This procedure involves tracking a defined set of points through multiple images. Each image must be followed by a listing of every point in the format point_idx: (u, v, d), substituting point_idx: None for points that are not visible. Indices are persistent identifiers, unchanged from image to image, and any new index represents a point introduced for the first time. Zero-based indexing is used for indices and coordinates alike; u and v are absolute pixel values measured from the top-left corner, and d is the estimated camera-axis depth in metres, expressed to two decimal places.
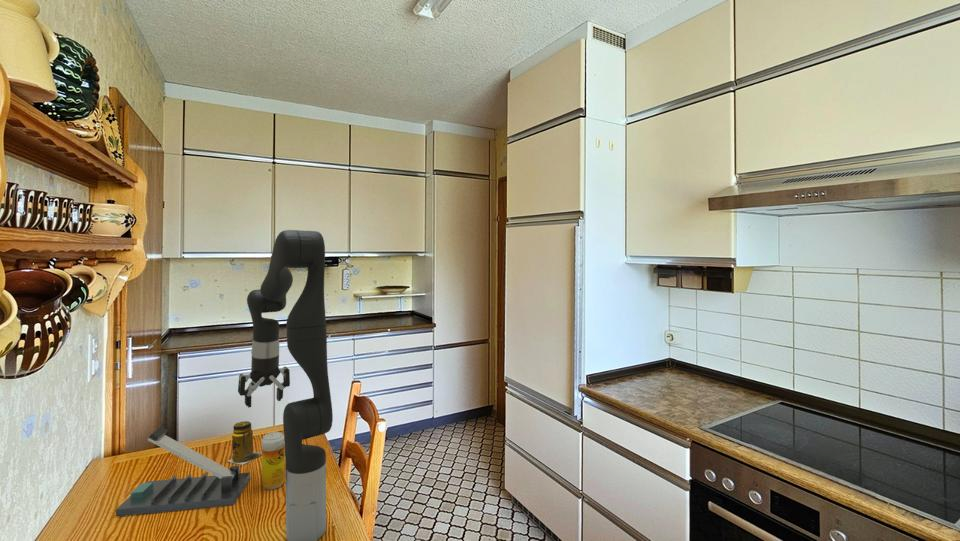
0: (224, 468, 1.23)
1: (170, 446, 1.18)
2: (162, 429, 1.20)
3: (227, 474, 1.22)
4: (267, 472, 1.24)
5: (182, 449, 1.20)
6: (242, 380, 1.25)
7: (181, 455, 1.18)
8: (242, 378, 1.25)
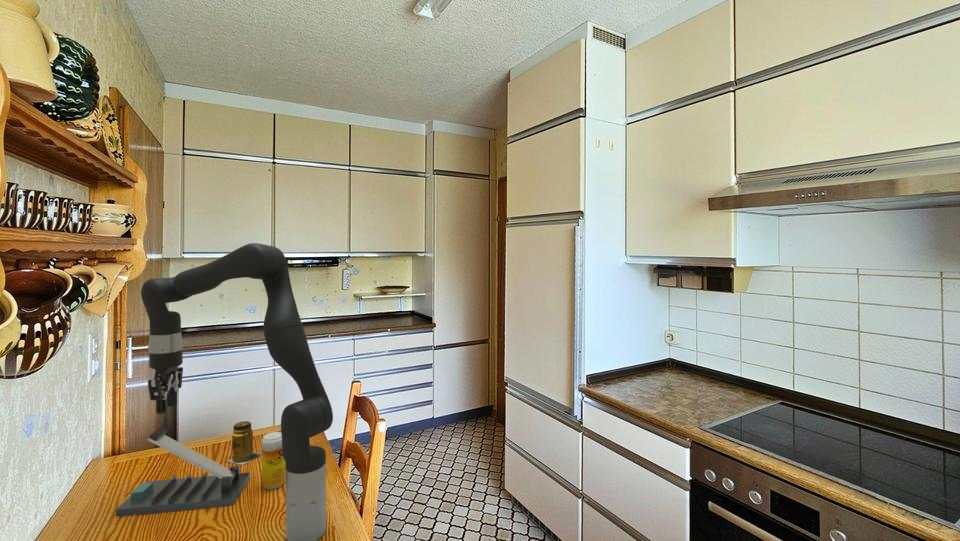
0: (224, 468, 1.23)
1: (170, 446, 1.18)
2: (162, 429, 1.20)
3: (227, 474, 1.22)
4: (267, 472, 1.24)
5: (182, 449, 1.20)
6: (159, 383, 1.12)
7: (181, 455, 1.18)
8: (158, 381, 1.12)
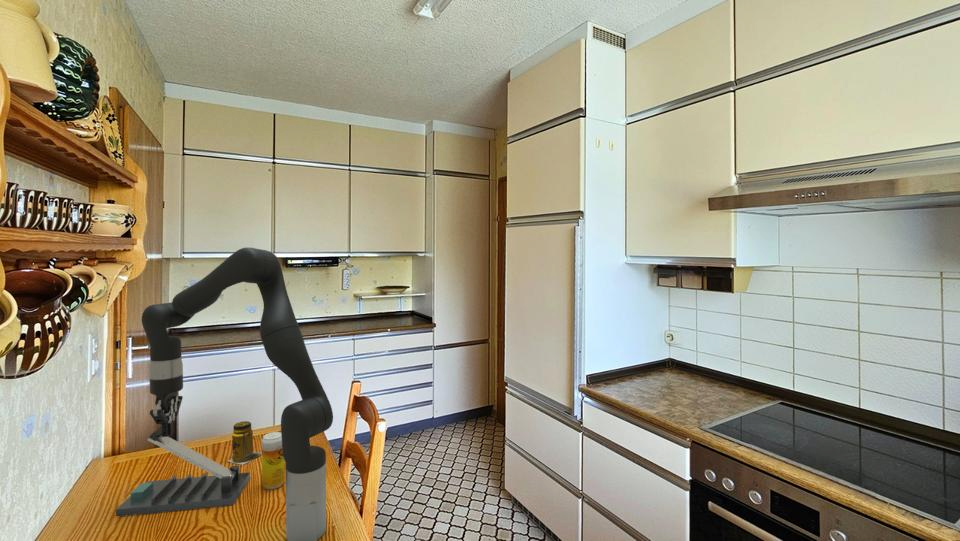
0: (224, 468, 1.23)
1: (170, 446, 1.18)
2: None
3: (227, 474, 1.22)
4: (267, 472, 1.24)
5: (182, 449, 1.20)
6: (161, 413, 1.14)
7: (181, 455, 1.18)
8: (160, 412, 1.13)
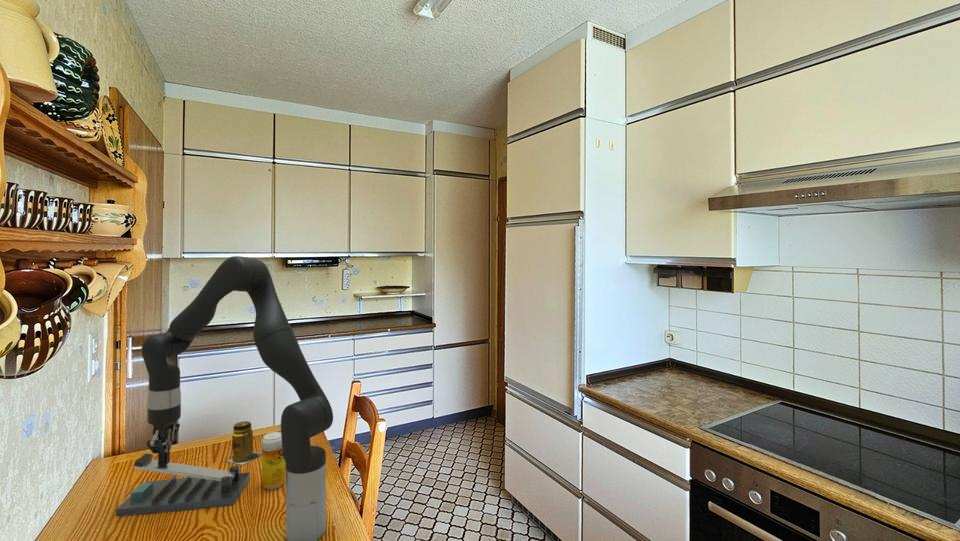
0: (222, 471, 1.23)
1: (159, 467, 1.18)
2: (147, 455, 1.20)
3: (226, 475, 1.22)
4: (267, 472, 1.24)
5: (173, 466, 1.19)
6: (158, 444, 1.14)
7: (173, 472, 1.18)
8: (157, 443, 1.13)
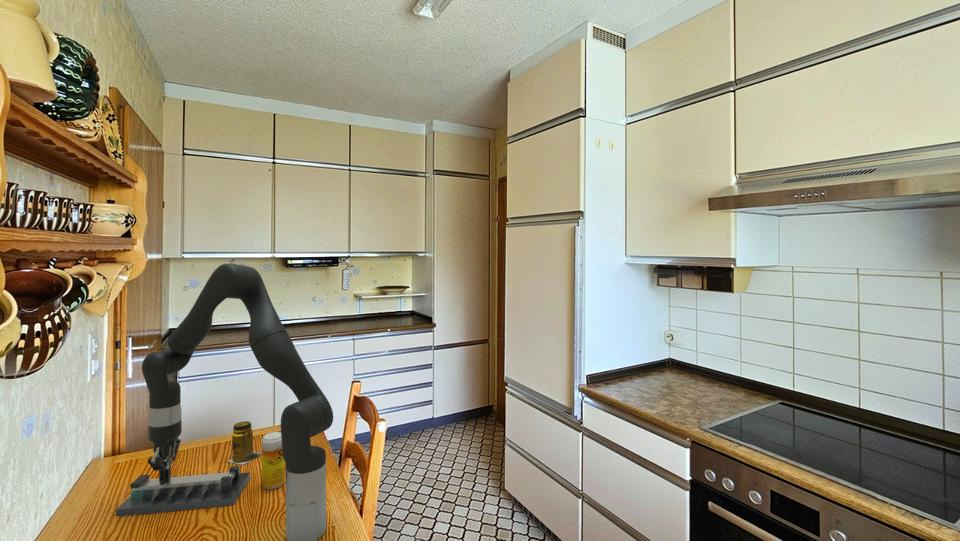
0: (221, 474, 1.23)
1: (156, 484, 1.18)
2: (143, 476, 1.20)
3: None
4: (267, 472, 1.24)
5: (170, 480, 1.19)
6: (159, 461, 1.14)
7: (171, 485, 1.18)
8: (158, 460, 1.14)
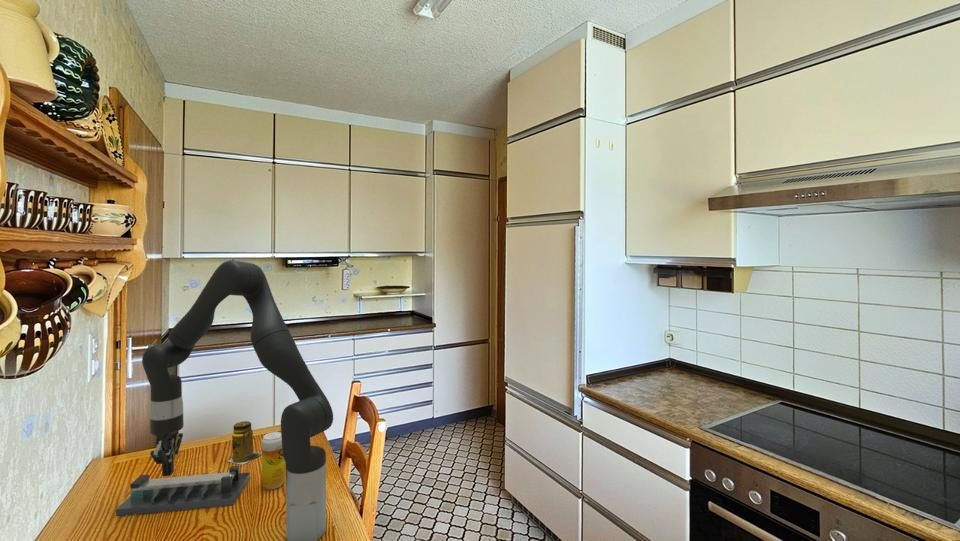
0: (221, 474, 1.23)
1: (156, 484, 1.18)
2: (143, 476, 1.20)
3: None
4: (267, 472, 1.24)
5: (170, 480, 1.19)
6: (162, 454, 1.14)
7: (171, 485, 1.18)
8: (161, 453, 1.13)
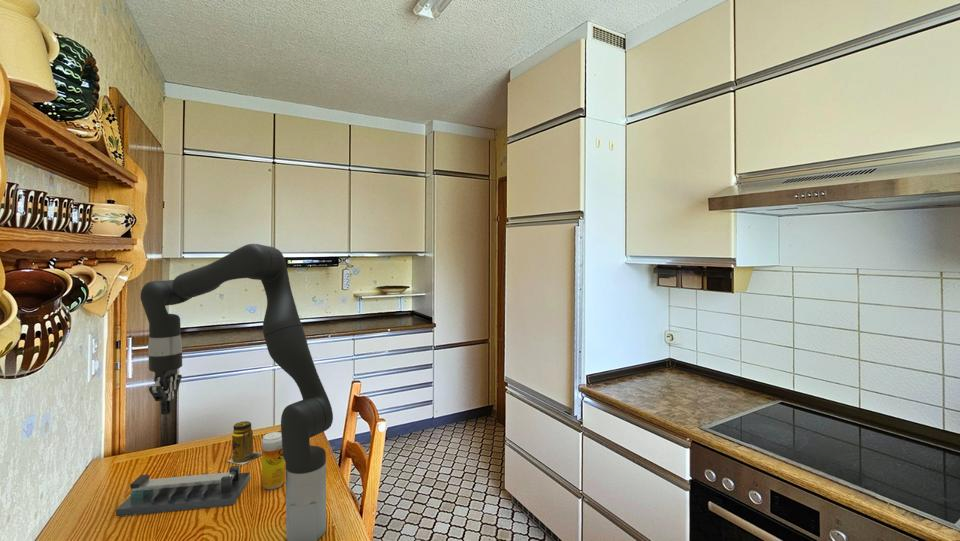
0: (221, 474, 1.23)
1: (156, 484, 1.18)
2: (143, 476, 1.20)
3: None
4: (267, 472, 1.24)
5: (170, 480, 1.19)
6: (160, 390, 1.13)
7: (171, 485, 1.18)
8: (159, 389, 1.13)
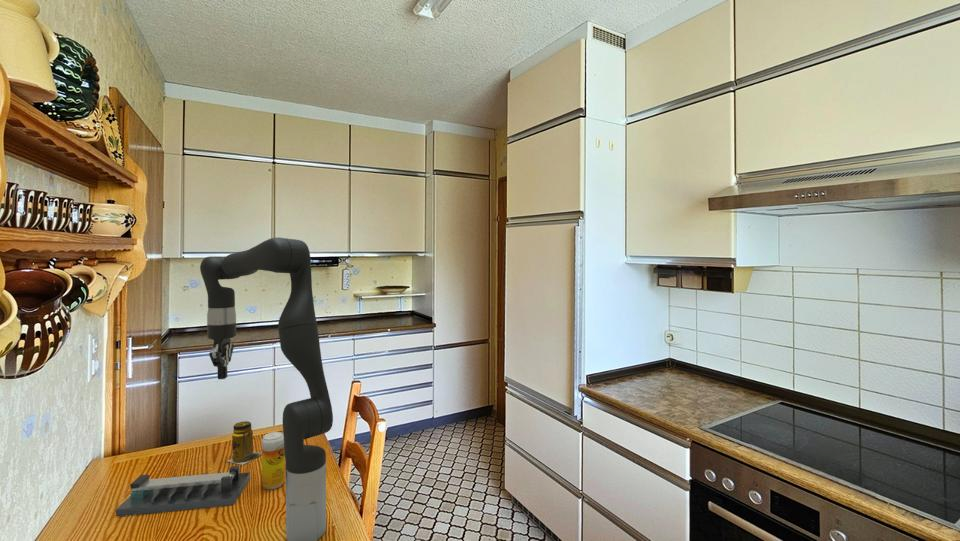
0: (221, 474, 1.23)
1: (156, 484, 1.18)
2: (143, 476, 1.20)
3: None
4: (267, 472, 1.24)
5: (170, 480, 1.19)
6: (219, 355, 1.24)
7: (171, 485, 1.18)
8: (218, 354, 1.24)
